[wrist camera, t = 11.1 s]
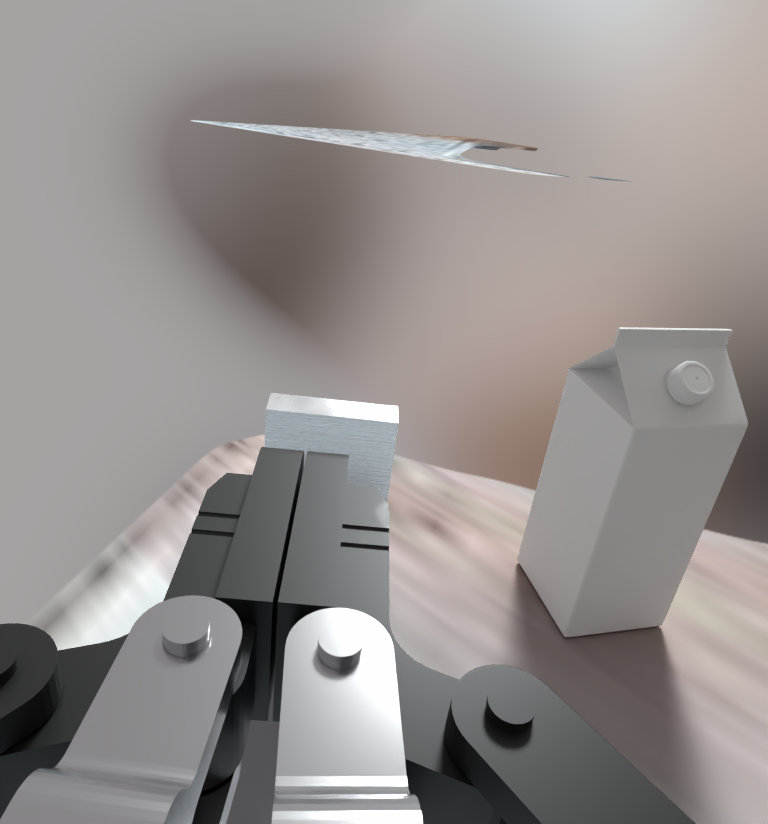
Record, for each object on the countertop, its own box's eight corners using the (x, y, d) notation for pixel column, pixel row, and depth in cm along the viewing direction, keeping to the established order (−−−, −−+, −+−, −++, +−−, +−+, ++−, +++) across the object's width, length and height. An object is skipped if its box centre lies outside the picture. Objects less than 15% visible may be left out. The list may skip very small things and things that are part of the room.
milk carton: (515, 561, 48) (585, 303, 39) (604, 553, 50) (691, 306, 41) (563, 640, 42) (659, 357, 33) (662, 627, 44) (779, 357, 35)
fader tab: (266, 585, 40) (275, 381, 33) (369, 594, 40) (397, 394, 34) (253, 638, 36) (261, 422, 30) (367, 648, 36) (398, 436, 30)
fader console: (255, 582, 43) (256, 556, 42) (381, 593, 43) (385, 568, 42) (147, 1026, 24) (144, 998, 23) (377, 1040, 24) (384, 1012, 23)
